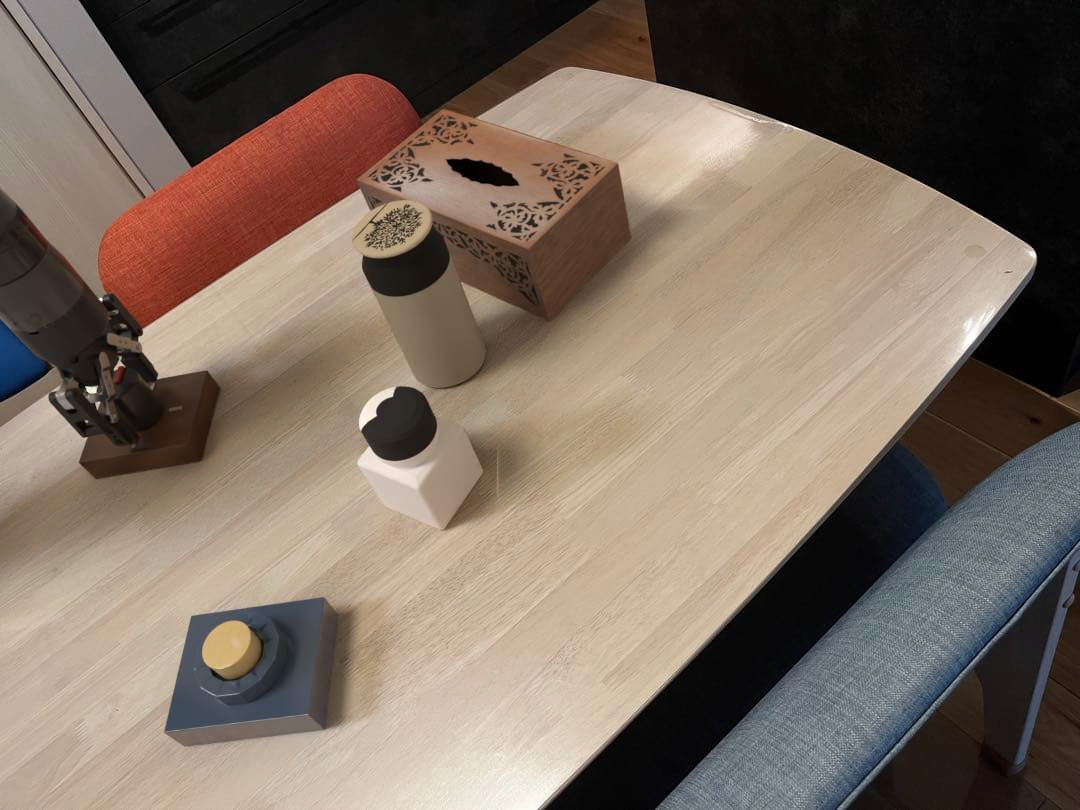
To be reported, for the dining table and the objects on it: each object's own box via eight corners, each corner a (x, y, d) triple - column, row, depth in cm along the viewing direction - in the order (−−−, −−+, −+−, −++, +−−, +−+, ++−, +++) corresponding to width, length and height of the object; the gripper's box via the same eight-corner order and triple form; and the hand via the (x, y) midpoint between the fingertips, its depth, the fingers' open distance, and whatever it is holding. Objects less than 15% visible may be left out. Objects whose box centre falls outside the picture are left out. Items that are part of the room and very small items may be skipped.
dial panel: (95, 479, 95) (77, 461, 92) (120, 405, 101) (104, 387, 99) (201, 461, 93) (186, 443, 91) (220, 387, 99) (206, 368, 97)
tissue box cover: (386, 247, 109) (356, 180, 101) (466, 177, 114) (443, 108, 107) (549, 321, 95) (528, 249, 87) (631, 237, 100) (618, 162, 93)
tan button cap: (209, 682, 71) (196, 671, 70) (219, 634, 74) (207, 623, 72) (257, 676, 71) (245, 665, 69) (266, 628, 73) (254, 617, 72)
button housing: (184, 747, 73) (150, 724, 69) (209, 631, 80) (179, 605, 76) (325, 730, 71) (298, 706, 68) (338, 613, 78) (315, 586, 74)
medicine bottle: (485, 471, 84) (448, 388, 75) (443, 533, 81) (398, 454, 72) (425, 448, 88) (382, 366, 79) (382, 506, 84) (332, 428, 75)
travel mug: (502, 348, 94) (452, 211, 80) (451, 401, 91) (390, 267, 77) (448, 322, 98) (391, 188, 85) (397, 372, 95) (330, 240, 81)
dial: (158, 427, 93) (130, 394, 89) (119, 434, 94) (89, 402, 90) (168, 395, 96) (140, 361, 92) (129, 402, 96) (100, 369, 92)
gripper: (30, 253, 87) (125, 365, 99) (-24, 363, 78) (87, 472, 90) (101, 238, 86) (188, 354, 98) (55, 348, 77) (157, 460, 89)
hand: (140, 410), depth 94 cm, fingers open, 8 cm apart
